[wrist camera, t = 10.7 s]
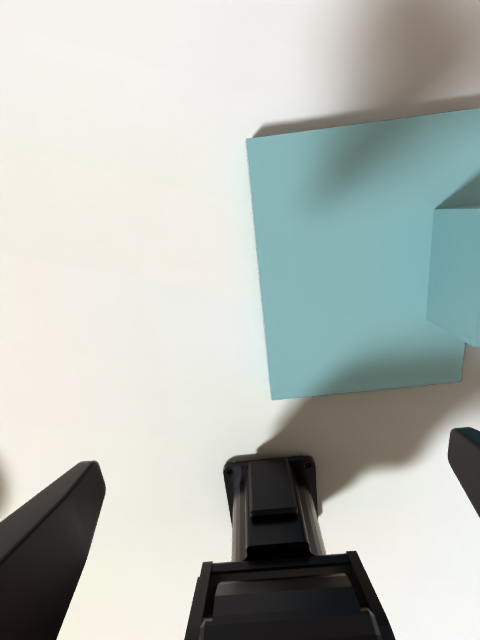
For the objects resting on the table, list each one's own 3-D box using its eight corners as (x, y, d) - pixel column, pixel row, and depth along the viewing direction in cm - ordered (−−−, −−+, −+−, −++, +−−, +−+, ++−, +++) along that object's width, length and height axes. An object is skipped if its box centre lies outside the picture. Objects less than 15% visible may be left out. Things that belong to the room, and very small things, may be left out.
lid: (445, 369, 21) (513, 422, 16) (269, 386, 22) (278, 444, 16) (470, 115, 16) (578, 69, 11) (245, 145, 17) (247, 115, 12)
